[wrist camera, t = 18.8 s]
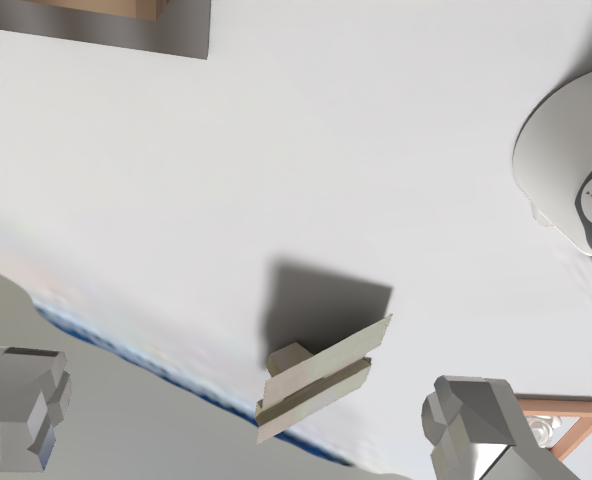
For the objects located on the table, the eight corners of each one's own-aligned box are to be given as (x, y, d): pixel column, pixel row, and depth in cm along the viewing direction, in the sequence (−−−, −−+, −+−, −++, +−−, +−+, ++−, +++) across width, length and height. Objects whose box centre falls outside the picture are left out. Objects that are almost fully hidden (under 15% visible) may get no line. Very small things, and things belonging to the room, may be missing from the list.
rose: (512, 467, 77) (499, 442, 72) (501, 441, 81) (487, 415, 75) (574, 449, 75) (565, 421, 69) (560, 423, 78) (550, 395, 73)
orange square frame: (603, 402, 75) (610, 413, 73) (552, 454, 84) (557, 465, 83) (508, 398, 72) (514, 410, 70) (467, 453, 82) (471, 464, 80)
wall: (333, 262, 58) (227, 341, 49) (396, 312, 54) (292, 408, 45) (314, 340, 72) (227, 414, 63) (363, 385, 68) (278, 471, 59)
